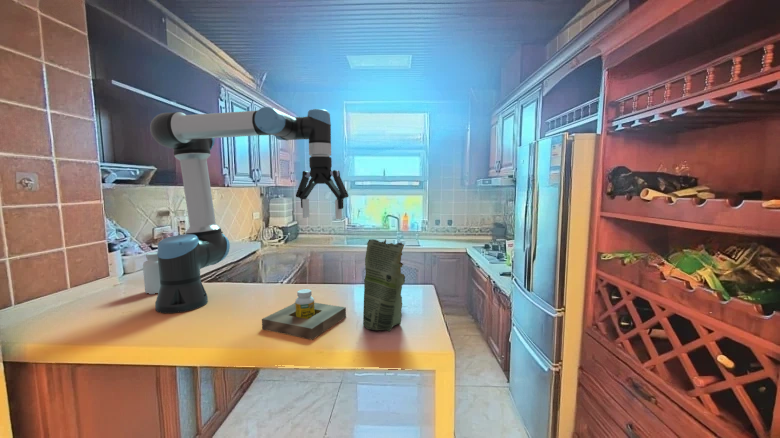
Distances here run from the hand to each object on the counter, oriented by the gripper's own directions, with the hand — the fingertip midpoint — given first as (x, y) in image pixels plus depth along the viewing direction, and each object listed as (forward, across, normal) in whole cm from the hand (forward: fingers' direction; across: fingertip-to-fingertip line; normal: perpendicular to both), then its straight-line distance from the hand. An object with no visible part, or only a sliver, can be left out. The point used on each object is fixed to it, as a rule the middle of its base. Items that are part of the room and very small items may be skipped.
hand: (322, 218), depth 121 cm
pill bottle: (+29, +64, +18) cm, 72 cm away
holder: (+29, -8, +21) cm, 36 cm away
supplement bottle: (+29, -8, +21) cm, 37 cm away
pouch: (+29, -30, +14) cm, 44 cm away
